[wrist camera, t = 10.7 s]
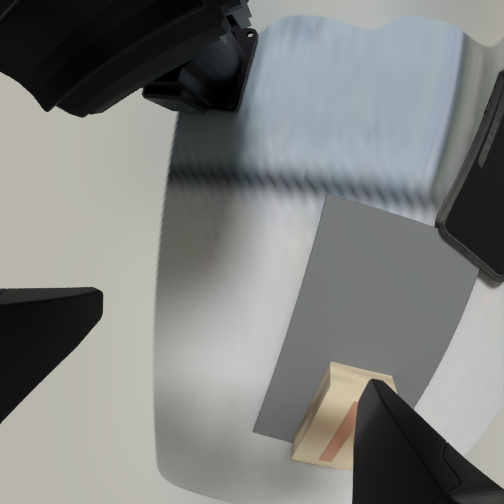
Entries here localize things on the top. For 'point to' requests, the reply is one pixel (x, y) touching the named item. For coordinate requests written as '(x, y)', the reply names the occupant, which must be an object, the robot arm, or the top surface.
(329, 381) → the beige wooden block
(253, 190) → the top surface
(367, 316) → the mat
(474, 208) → the phone
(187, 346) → the top surface
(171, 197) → the top surface
